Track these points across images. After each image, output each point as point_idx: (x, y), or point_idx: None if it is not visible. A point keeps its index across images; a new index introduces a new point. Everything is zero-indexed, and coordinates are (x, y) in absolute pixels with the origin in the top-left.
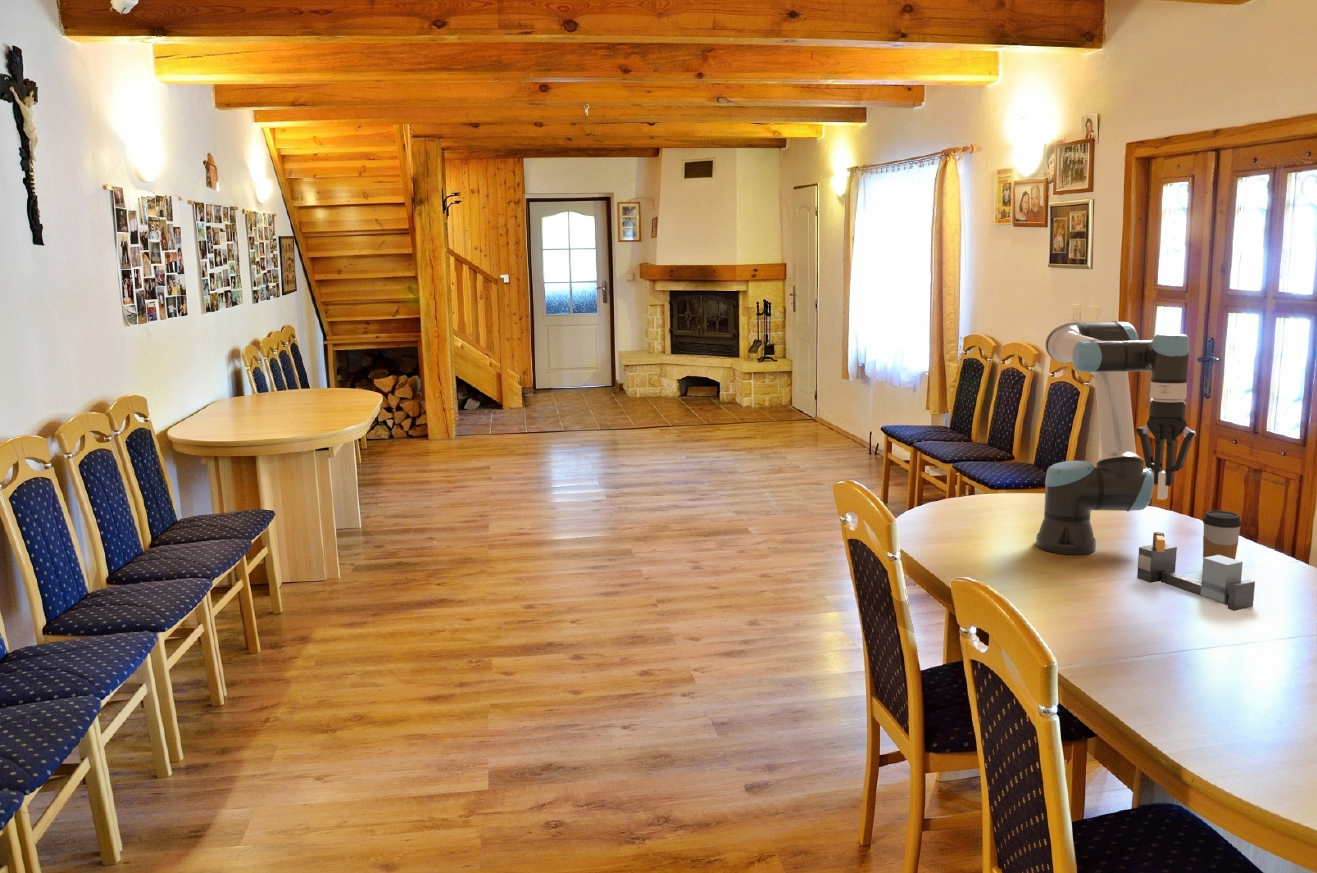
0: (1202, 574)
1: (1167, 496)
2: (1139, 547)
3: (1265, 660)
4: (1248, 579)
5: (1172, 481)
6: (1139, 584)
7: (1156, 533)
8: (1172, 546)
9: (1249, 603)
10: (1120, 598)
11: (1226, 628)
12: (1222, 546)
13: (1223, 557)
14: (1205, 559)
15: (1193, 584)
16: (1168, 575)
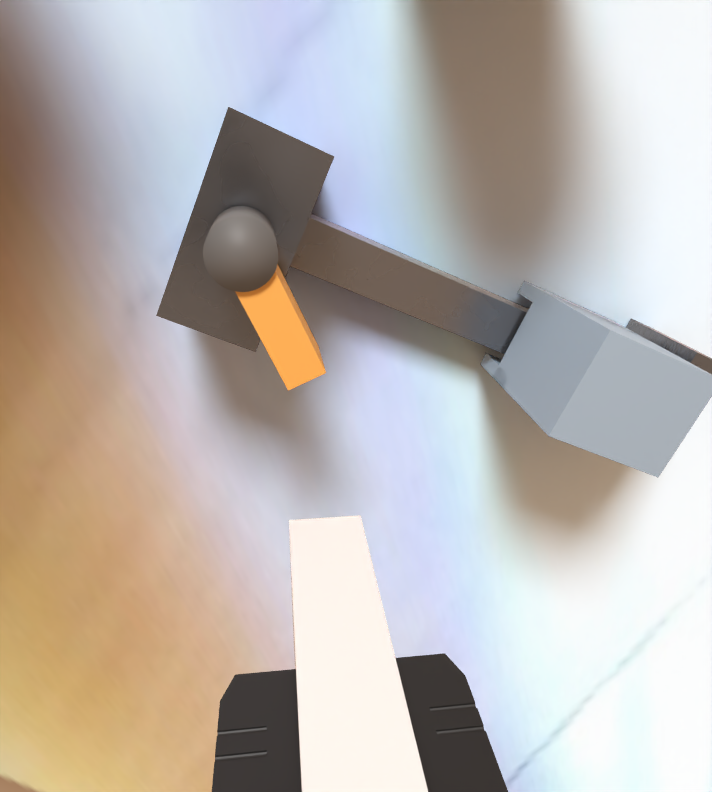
0: (515, 400)
1: (363, 531)
2: (159, 316)
3: (692, 702)
4: (697, 353)
5: (472, 717)
6: (224, 348)
7: (228, 268)
8: (308, 162)
9: None
10: (240, 549)
11: (593, 576)
12: None
13: (635, 367)
14: (556, 437)
15: (450, 331)
16: (326, 280)
